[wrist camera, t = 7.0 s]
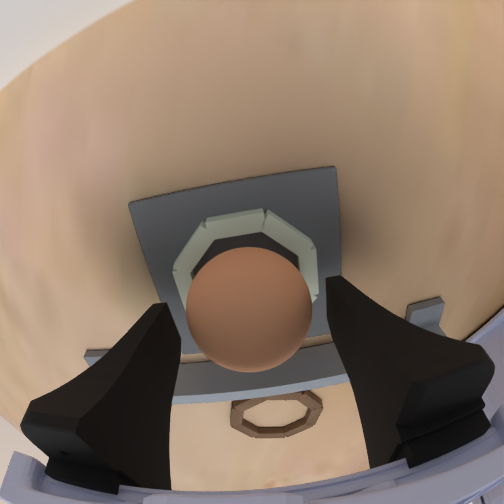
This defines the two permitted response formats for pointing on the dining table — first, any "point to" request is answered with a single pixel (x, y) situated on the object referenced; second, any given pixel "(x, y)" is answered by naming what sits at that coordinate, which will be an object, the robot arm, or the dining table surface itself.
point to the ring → (276, 432)
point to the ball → (249, 309)
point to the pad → (242, 234)
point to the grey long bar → (277, 368)
